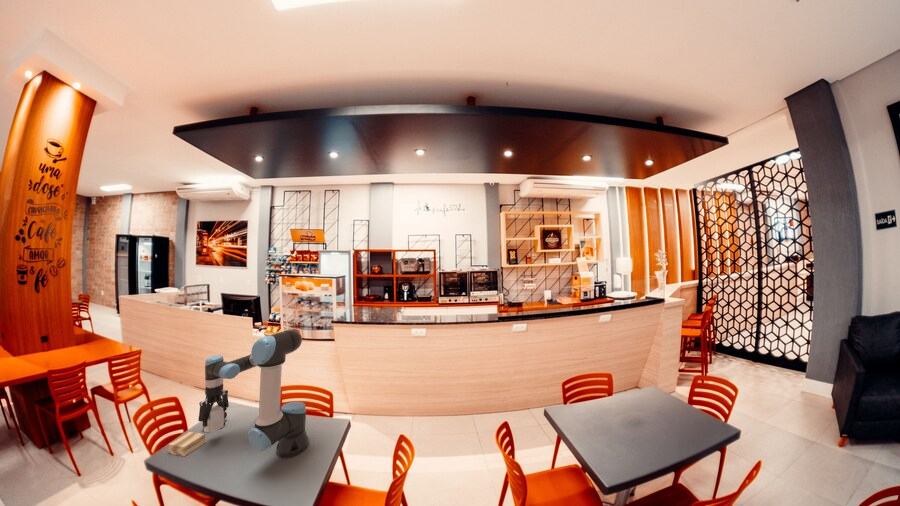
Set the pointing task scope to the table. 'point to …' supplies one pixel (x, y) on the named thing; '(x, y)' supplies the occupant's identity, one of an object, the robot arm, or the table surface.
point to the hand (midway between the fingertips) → (214, 427)
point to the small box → (216, 418)
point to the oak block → (186, 443)
